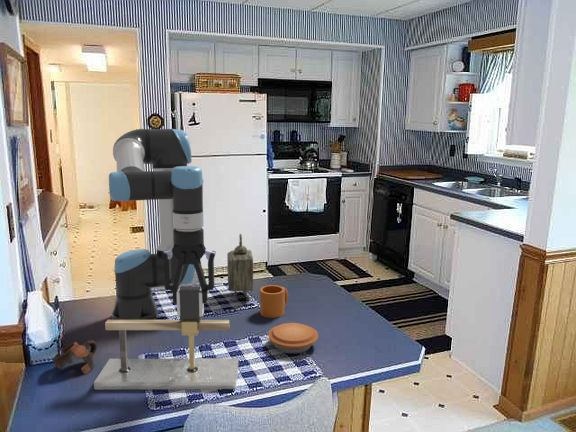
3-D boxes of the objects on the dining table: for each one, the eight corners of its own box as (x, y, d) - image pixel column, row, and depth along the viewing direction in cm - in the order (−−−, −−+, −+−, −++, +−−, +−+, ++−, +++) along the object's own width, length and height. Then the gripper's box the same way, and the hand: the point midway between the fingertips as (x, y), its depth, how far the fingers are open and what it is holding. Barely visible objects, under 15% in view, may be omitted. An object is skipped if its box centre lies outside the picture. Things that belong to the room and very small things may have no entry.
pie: (259, 351, 140) (260, 336, 139) (278, 330, 154) (278, 316, 153) (308, 361, 135) (309, 345, 133) (323, 338, 149) (324, 324, 148)
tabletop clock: (253, 302, 176) (253, 239, 171) (229, 303, 175) (228, 239, 170) (249, 289, 190) (249, 229, 185) (227, 289, 189) (227, 230, 184)
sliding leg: (184, 363, 127) (181, 284, 122) (202, 363, 127) (201, 284, 123) (181, 372, 123) (178, 291, 118) (200, 372, 123) (198, 291, 118)
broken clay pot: (79, 382, 123) (60, 358, 121) (60, 387, 128) (42, 364, 126) (110, 352, 132) (94, 329, 131) (92, 357, 137) (75, 335, 136)
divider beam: (110, 368, 125) (107, 319, 122) (229, 367, 126) (229, 319, 124) (108, 371, 123) (105, 322, 120) (229, 371, 125) (228, 323, 122)
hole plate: (110, 365, 130) (109, 358, 130) (238, 364, 132) (238, 358, 131) (94, 389, 119) (93, 382, 118) (235, 388, 120) (235, 381, 120)
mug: (296, 312, 168) (297, 289, 166) (267, 320, 162) (268, 296, 160) (283, 303, 175) (283, 281, 173) (255, 310, 169) (255, 287, 167)
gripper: (148, 231, 113) (152, 320, 118) (222, 232, 114) (223, 320, 118) (155, 224, 120) (159, 308, 125) (225, 225, 121) (226, 308, 126)
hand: (190, 314), depth 122 cm, fingers closed on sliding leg, 5 cm apart
